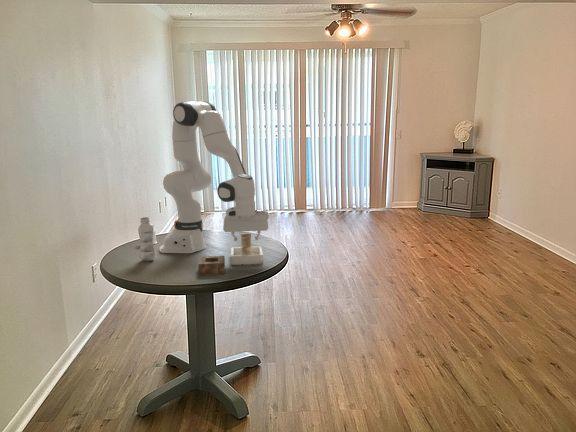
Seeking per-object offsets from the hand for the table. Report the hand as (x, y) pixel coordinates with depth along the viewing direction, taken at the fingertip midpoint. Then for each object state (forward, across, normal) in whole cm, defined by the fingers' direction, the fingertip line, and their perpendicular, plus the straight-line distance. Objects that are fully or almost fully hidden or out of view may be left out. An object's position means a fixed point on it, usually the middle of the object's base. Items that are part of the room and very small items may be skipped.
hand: (246, 240), depth 216 cm
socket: (+9, +15, +14) cm, 22 cm away
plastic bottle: (+9, +45, -4) cm, 46 cm away
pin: (+8, 0, 0) cm, 8 cm away
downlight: (+9, +49, -34) cm, 60 cm away
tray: (+9, 0, 0) cm, 9 cm away
